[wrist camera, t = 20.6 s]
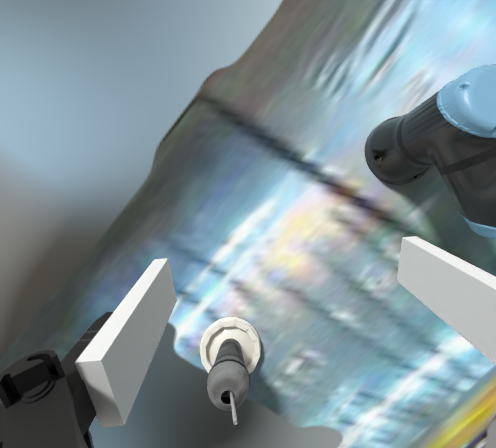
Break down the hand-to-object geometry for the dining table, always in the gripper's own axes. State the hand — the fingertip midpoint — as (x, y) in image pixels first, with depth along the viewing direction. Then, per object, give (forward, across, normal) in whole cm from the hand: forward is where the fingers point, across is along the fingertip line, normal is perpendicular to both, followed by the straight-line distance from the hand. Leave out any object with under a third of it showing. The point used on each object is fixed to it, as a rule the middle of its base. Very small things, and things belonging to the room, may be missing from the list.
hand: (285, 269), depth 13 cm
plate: (+29, -8, -34) cm, 46 cm away
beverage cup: (+29, -8, -34) cm, 45 cm away
